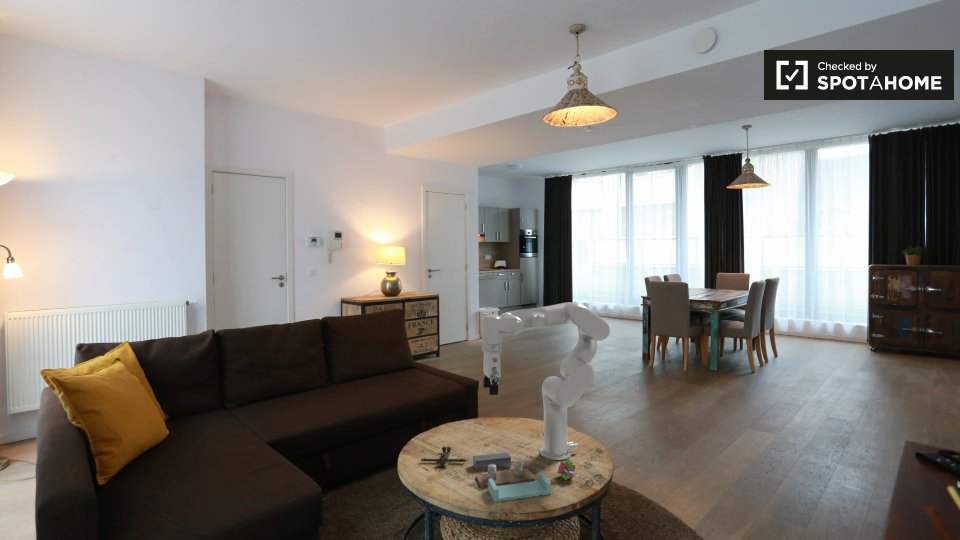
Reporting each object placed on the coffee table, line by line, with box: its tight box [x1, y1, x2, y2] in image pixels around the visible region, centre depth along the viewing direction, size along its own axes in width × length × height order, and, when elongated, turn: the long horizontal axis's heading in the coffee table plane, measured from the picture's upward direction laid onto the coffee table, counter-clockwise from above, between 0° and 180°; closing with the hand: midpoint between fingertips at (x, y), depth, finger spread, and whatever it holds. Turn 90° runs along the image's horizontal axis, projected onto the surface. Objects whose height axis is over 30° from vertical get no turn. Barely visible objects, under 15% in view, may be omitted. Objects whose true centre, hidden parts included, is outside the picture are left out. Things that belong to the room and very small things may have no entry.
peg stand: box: [475, 460, 536, 489], centre depth 172 cm, size 20×8×6 cm, turn 103°
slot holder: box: [487, 471, 552, 503], centre depth 162 cm, size 20×8×4 cm, turn 103°
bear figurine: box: [420, 446, 467, 468], centre depth 188 cm, size 18×4×14 cm
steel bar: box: [472, 452, 512, 471], centre depth 182 cm, size 14×4×4 cm, turn 102°
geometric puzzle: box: [555, 458, 577, 482], centre depth 172 cm, size 7×7×8 cm
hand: (490, 391), depth 183 cm, fingers open, 9 cm apart
